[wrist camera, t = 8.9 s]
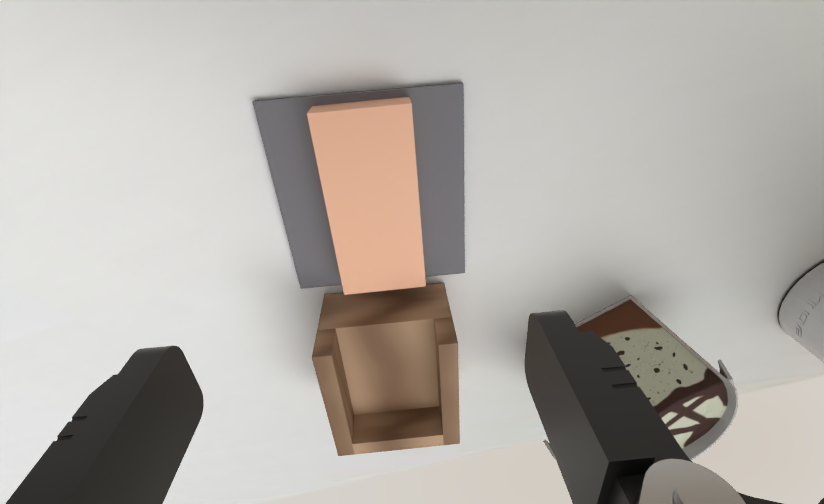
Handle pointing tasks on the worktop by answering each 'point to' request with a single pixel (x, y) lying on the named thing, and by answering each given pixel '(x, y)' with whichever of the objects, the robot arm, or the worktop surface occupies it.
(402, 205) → the cover plate
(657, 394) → the food container
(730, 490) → the robot arm
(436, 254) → the charcoal mat
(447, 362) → the walnut box
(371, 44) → the worktop surface
